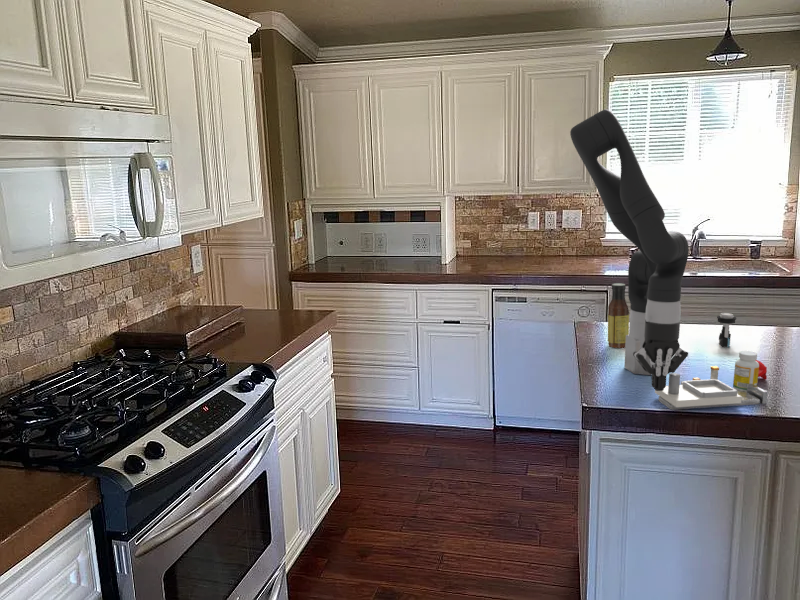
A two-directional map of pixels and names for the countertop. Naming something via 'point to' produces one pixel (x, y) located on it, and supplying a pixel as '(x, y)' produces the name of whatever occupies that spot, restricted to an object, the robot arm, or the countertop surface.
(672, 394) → the toothed carriage
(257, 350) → the countertop surface
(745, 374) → the supplement bottle
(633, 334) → the robot arm
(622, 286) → the sauce bottle
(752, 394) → the index track
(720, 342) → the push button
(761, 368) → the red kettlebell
